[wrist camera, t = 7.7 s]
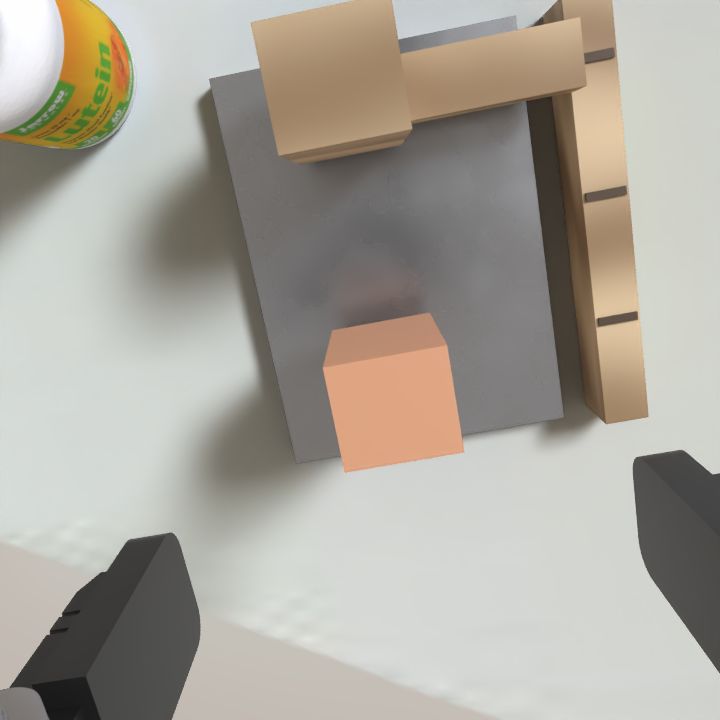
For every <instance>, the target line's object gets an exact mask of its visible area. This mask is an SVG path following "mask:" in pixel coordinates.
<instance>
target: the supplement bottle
mask: <svg viewBox="0 0 720 720" xmlns="http://www.w3.org/2000/svg"><path fill="white" fill-rule="evenodd" d="M136 84H137V77H136V67H135V62H134V58H133V54H132V51H131V49H130V46H129V44H128V42H127V40H126V38H125V36H124V34H123V33H122V31H121V30H120V28H119V27H118V26H117V25H116V23H115V22H114V21H113V20H112V19H111V18H110V17H109V16H108V15H107V14H106V13H105V12H103V11H102V10H101V9H100V8H99V7H97V6H96V5H95V4H93V3H92V2H91V1H89V0H0V140H4V141H11V142H17V143H23V144H29V145H36V146H41V147H48V148H55V149H82V148H87V147H91V146H94V145H96V144H99V143H100V142H102V141H104V140H106V139H107V138H109V137H110V136H111V135H113V134H114V133H115V132H116V131H117V130H118V129H119V128H120V127H121V125H122V124H123V123H124V121H125V120H126V118H127V116H128V115H129V112H130V110H131V108H132V105H133V102H134V98H135V93H136Z"/></svg>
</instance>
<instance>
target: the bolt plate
mask: <svg viewBox="0 0 720 720" xmlns="http://www.w3.org/2000/svg"><path fill="white" fill-rule="evenodd" d="M514 30H517V22H516V16H511V17H506V18H501V19H496V20H491V21H487V22H482V23H477V24H472V25H467V26H462V27H458V28H453V29H448V30H443V31H438V32H433V33H429V34H424V35H419V36H414V37H409V38H404V39H400V40H398V42H399V48H400V54H403V53H407V52H412V51H417V50H422V49H427V48H432V47H437V46H441V45H446V44H451V43H456V42H461V41H466V40H471V39H476V38H480V37H485V36H490V35H495V34H500V33H505V32H510V31H514ZM209 81H210V85H211V89H212V94H213V98H214V103H215V107H216V111H217V116H218V120H219V125H220V129H221V133H222V138H223V142H224V147H225V151H226V155H227V160H228V164H229V169H230V173H231V178H232V182H233V186H234V191H235V195H236V200H237V204H238V208H239V213H240V217H241V222H242V226H243V230H244V235H245V239H246V244H247V248H248V252H249V257H250V261H251V266H252V270H253V274H254V279H255V283H256V288H257V292H258V296H259V301H260V305H261V310H262V314H263V318H264V323H265V327H266V332H267V336H268V341H269V345H270V349H271V354H272V358H273V363H274V367H275V371H276V376H277V380H278V385H279V389H280V393H281V398H282V402H283V407H284V411H285V415H286V420H287V424H288V429H289V433H290V437H291V442H292V446H293V451H294V455H295V459H296V464H298V463H303V462H309V461H315V460H321V459H327V458H332V457H338V456H341V453H340V448H339V443H338V438H337V434H336V429H335V424H334V419H333V414H332V410H331V405H330V400H329V395H328V390H327V386H326V381H325V376H324V371H323V365H324V361H325V357H326V353H327V349H328V345H329V341H330V338H331V334H332V330H337V329H343V328H348V327H353V326H359V325H364V324H370V323H375V322H381V321H386V320H392V319H397V318H403V317H408V316H414V315H419V314H424V313H430V314H431V316H432V317H433V319H434V321H435V323H436V325H437V327H438V329H439V331H440V333H441V335H442V336H443V338H444V340H445V342H446V344H447V347H448V354H449V360H450V366H451V372H452V379H453V385H454V391H455V397H456V404H457V410H458V416H459V422H460V428H461V435H466V434H472V433H478V432H483V431H489V430H495V429H501V428H507V427H512V426H518V425H524V424H530V423H536V422H541V421H547V420H553V419H559V418H564V413H563V405H562V397H561V388H560V380H559V372H558V363H557V355H556V347H555V338H554V330H553V322H552V313H551V305H550V297H549V288H548V280H547V272H546V263H545V255H544V247H543V238H542V230H541V222H540V213H539V205H538V197H537V188H536V180H535V172H534V163H533V155H532V147H531V138H530V130H529V122H528V113H527V105H526V101H524V102H519V103H514V104H509V105H504V106H499V107H494V108H489V109H484V110H479V111H474V112H469V113H464V114H459V115H454V116H449V117H444V118H439V119H434V120H429V121H424V122H419V123H414V124H412V130H411V132H410V133H409V135H408V136H407V138H406V139H405V140H404V142H403V143H402V145H399V146H394V147H389V148H384V149H379V150H374V151H369V152H364V153H359V154H354V155H348V156H343V157H338V158H333V159H328V160H323V161H318V162H313V163H308V164H303V165H299V164H297V163H294V162H292V161H290V160H287V159H285V158H283V157H280V156H278V151H277V146H276V141H275V137H274V132H273V127H272V122H271V118H270V113H269V108H268V103H267V98H266V94H265V89H264V84H263V79H262V74H261V70H260V68H259V69H254V70H250V71H245V72H240V73H235V74H230V75H225V76H221V77H216V78H211V79H209Z"/></svg>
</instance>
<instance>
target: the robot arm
mask: <svg viewBox="0 0 720 720" xmlns="http://www.w3.org/2000/svg"><path fill="white" fill-rule="evenodd" d="M633 480H634V491H635V503H636V515H637V526H638V538H639V545H640V550H641V554H642V557H643V560H644V563H645V566H646V568H647V571H648V573H649V575H650V576H651V578H652V580H653V581H654V582H655V584H656V585H657V587H658V588H659V589H660V591H661V592H662V593H663V595H664V596H665V598H666V599H667V600H668V602H669V603H670V605H671V606H672V607H673V609H674V610H675V612H676V613H677V614H678V616H679V617H680V619H681V620H682V621H683V623H684V624H685V625H686V627H687V628H688V630H689V631H690V632H691V634H692V635H693V637H694V638H695V639H696V641H697V642H698V644H699V645H700V646H701V648H702V649H703V651H704V652H705V653H706V655H707V656H708V657H709V659H710V660H711V662H712V663H713V664H714V666H715V667H716V669H717V670H718V671H719V673H720V473H719V474H713V475H712V474H711V473H710V472H709V471H708V470H706V469H705V468H704V467H703V466H702V465H700V464H699V463H698V462H697V461H696V460H695V459H693V458H692V457H691V456H690V455H689V454H687V453H686V452H685V451H683V450H677V451H671V452H665V453H659V454H653V455H647V456H641V457H636V458H635V460H634V463H633ZM199 640H200V615H199V610H198V606H197V602H196V599H195V595H194V592H193V588H192V585H191V581H190V578H189V574H188V571H187V567H186V564H185V560H184V557H183V553H182V550H181V547H180V544H179V541H178V539H177V537H176V536H175V535H174V534H173V533H166V534H160V535H154V536H148V537H142V538H136V539H130V540H128V541H127V542H126V543H125V545H124V546H123V548H122V549H121V551H120V552H119V554H118V555H117V557H116V558H115V560H114V561H113V563H112V564H111V566H110V567H109V569H108V570H107V572H101V573H100V574H99V575H97V576H96V577H95V578H94V579H92V580H91V581H90V582H89V583H88V584H86V585H85V586H84V587H83V588H81V589H80V590H79V591H78V592H77V593H76V594H75V596H74V597H73V598H72V600H71V601H70V603H69V604H68V606H67V607H66V608H65V610H64V611H63V613H62V617H59V618H58V620H57V621H56V622H55V624H54V625H53V627H52V628H51V630H50V635H47V636H46V637H45V638H44V639H43V641H42V642H41V644H40V645H39V647H38V648H37V649H36V651H35V652H34V654H33V655H32V657H31V658H30V659H29V661H28V662H27V664H26V665H25V666H24V668H23V669H22V671H21V672H20V674H19V675H18V677H17V678H16V679H15V681H14V682H13V683H12V685H11V686H10V688H9V689H3V690H0V720H172V717H173V714H174V712H175V709H176V706H177V703H178V701H179V698H180V695H181V692H182V690H183V687H184V684H185V681H186V678H187V676H188V673H189V670H190V668H191V665H192V662H193V659H194V657H195V654H196V651H197V648H198V645H199Z"/></svg>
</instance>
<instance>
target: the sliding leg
mask: <svg viewBox="0 0 720 720" xmlns="http://www.w3.org/2000/svg"><path fill="white" fill-rule="evenodd" d="M323 371H324V376H325V381H326V386H327V390H328V395H329V400H330V405H331V410H332V414H333V419H334V424H335V429H336V434H337V438H338V443H339V448H340V453H341V457H342V462H343V467H344V472H345V473H346V472H351V471H357V470H363V469H369V468H375V467H381V466H387V465H392V464H398V463H404V462H410V461H416V460H422V459H428V458H433V457H439V456H445V455H451V454H457V453H463V452H464V447H463V441H462V435H461V428H460V422H459V416H458V410H457V404H456V397H455V391H454V385H453V379H452V372H451V366H450V360H449V354H448V347H447V344H446V342H445V340H444V338H443V336H442V335H441V333H440V331H439V329H438V327H437V325H436V323H435V321H434V319H433V317H432V316H431V314H430V313H424V314H419V315H414V316H408V317H403V318H397V319H392V320H386V321H381V322H375V323H370V324H364V325H359V326H353V327H348V328H343V329H337V330H332V334H331V338H330V341H329V345H328V349H327V353H326V357H325V361H324V365H323Z"/></svg>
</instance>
